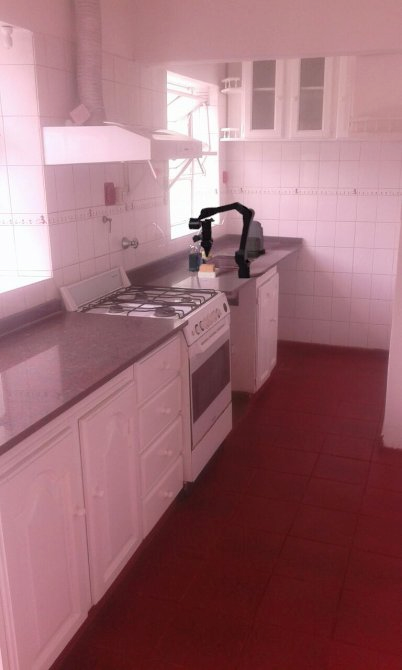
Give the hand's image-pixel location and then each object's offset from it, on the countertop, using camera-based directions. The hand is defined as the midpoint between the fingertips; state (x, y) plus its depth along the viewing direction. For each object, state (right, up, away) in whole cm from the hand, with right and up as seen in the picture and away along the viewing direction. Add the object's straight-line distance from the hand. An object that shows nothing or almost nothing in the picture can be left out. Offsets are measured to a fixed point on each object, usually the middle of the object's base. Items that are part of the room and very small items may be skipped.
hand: (207, 256), depth 360 cm
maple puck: (0, -1, 0) cm, 1 cm away
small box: (-6, -6, +24) cm, 26 cm away
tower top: (0, -8, +2) cm, 9 cm away
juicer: (+34, +11, +81) cm, 89 cm away
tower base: (0, -12, +3) cm, 12 cm away
